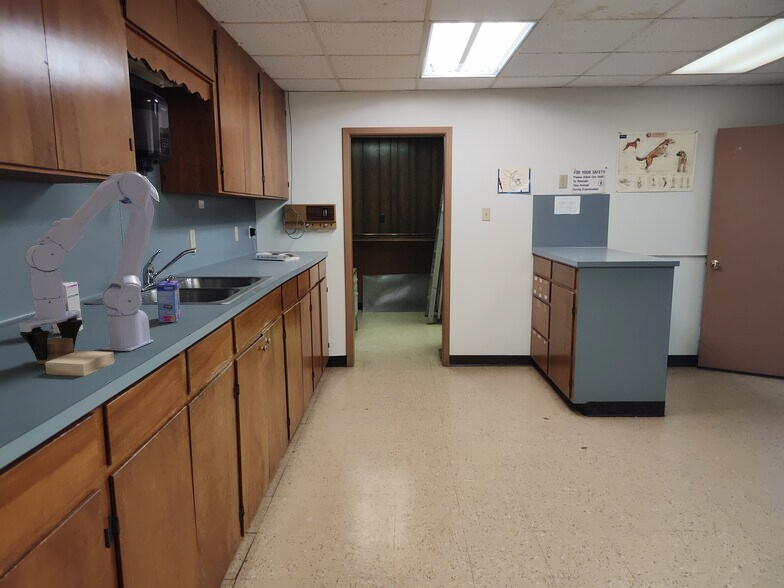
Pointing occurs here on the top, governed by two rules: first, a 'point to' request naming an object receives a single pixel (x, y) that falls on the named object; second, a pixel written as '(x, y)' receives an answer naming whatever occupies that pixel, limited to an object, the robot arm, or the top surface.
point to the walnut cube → (58, 348)
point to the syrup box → (69, 301)
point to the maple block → (79, 363)
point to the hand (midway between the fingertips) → (56, 354)
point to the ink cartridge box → (168, 301)
